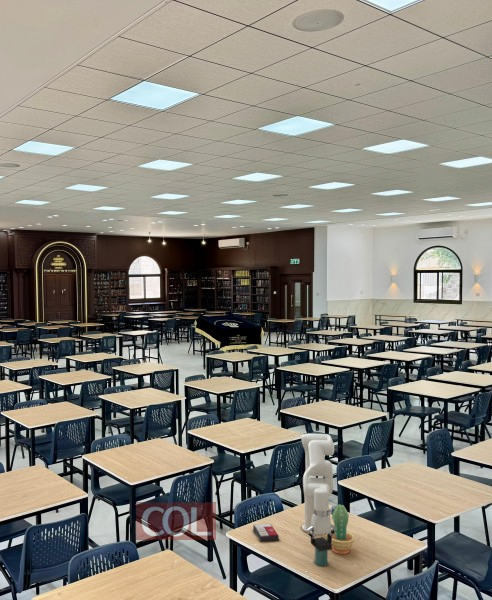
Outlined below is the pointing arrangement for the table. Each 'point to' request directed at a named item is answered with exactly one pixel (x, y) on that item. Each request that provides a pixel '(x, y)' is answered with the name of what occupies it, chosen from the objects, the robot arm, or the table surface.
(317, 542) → the black box
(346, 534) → the potted cactus
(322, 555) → the cup
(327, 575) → the table surface
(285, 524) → the table surface
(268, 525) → the calculator
